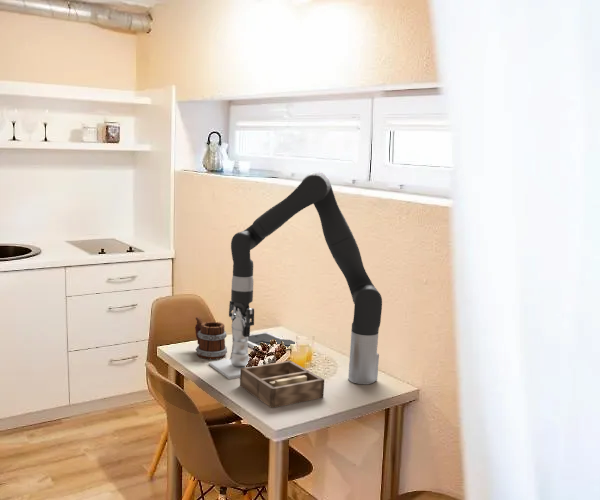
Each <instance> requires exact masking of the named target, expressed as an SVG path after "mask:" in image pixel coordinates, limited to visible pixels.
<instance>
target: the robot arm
mask: <svg viewBox="0 0 600 500" xmlns="http://www.w3.org/2000/svg"><path fill="white" fill-rule="evenodd" d="M332 187H333V186H332V183H331V181H330V178H329V177H328V176H327V175H326V174H325V173H323V172H321V171H312V172H311V173H309V174H307V175H305V177H304V178H303V179H302V181H301V182H300V183H299V184H298V185H297V187H295V189H294V190H293V191H292V192H291V193H290V194H289V195H288V196H286V197H285V198H284V199H283V200H280V202H278V203H277V204H275V205H273V206H272V207H270V208H269V209H267V210H266V211H264V213H263V214H261V215H260V216H258V217H257V218H256V219H255V220H254V221H253V222H252V224H251V225H249V226H248V227H247V228H246V229H244V230H242V231H239V232H236V233H235V234H233V237H232V238H231V242H230V251H231V259H232V262H233V263H232V264H233V265H232V279H231V292H230V293H231V294H230V301H229V305H228V306H229V307H228V308H229V309H228V317H229V318H231V321H232V322H233V321H234V319H235V318H236V310H237V311H238V313H239V315H240V319H241V321H243V325H244V328H243V336H244V337H249V336H250V334H251V327H253V326H255V308H250V304H251V303H253V302H254V301H253V299H254V261H253V260H252V259H251V250H253V249H254V248H256V247H257V246H258V245H259V244H260V243H261V242H263V241H264V240H265V239H266V238H267V237H269V236H270V235H271V234H273V233H274V232H275V231H277V230H278V229H280V228H281V227H282V226H284V224H286V223H287V222H288V221H289V220H290V219H291V218H293V217H294V216H295V215H296V214H298V213H300V212H301V211H302V210H304V209H306V208H308V207H309V206H312V205H313V206H314V208H315V210H316V212H317V214H318V216H319V219H320V225H321V230H322V233H323V237H324V240H325V243H326V245H327V247H328V249H329V252H330V253H331V257H332V258H333V260H334V262H335V263H336V265H337V266H338V268H339V269H340V271H341V273H342V274H343V276H344V278H345V281H346V282H347V286H348V289H349V292H350V295H351V299H352V302H353V304H354V308H353V319H352V320H353V321H352V323H351V334H350V346H349V347H350V348H349V363H348V364H349V365H348V381H349V382H350V383H354V384H359V385H370V384H373V383H375V382H376V381H378V373H379V361H380V360H379V359H380V355H379V353H378V343H379V342H378V341H379V331H380V326H381V322H382V321H381V320H382V309H383V298H382V295H381V293H380V292H379V291H378V289H377V288H376V286H374V284H373V282H372V280H371V279H370V277H369V275H368V273H367V270H366V269H365V266H364V263H363V260H362V255H361V252H360V248H359V246H358V244H357V241H356V239H355V235H354V234H353V232H352V230H351V229H350V226H349V224H348V222H347V220H346V218H345V216H344V214H343V213H342V211H341V209H340V207H339V205H338V203H337V199H336V197H335V194H334V190H333V188H332ZM245 320H246V321H245ZM232 322H231V323H232Z"/></svg>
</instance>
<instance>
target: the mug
mask: <svg viewBox="0 0 600 500" xmlns="http://www.w3.org/2000/svg"><path fill="white" fill-rule="evenodd" d="M195 320H196V324H195V327H194V329H195V330H194V331H195V337H196V340H197V345H198V346H197V347H196V348H195V351H196V353H197V356H198V358H201V359H205V360H210V361H211V360H212V361H213V360H220V359H223V358H225V357H226V356H227V353H228V346H226V338H227V332H226V331H225V324H224V323H222V322H220V321H217V322H216V321H206V322H204V321H203V319H202V318H201V317H200V316H198V317H195Z"/></svg>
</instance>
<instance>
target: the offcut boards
mask: <svg viewBox="0 0 600 500" xmlns="http://www.w3.org/2000/svg"><path fill="white" fill-rule="evenodd" d="M305 381H307V376H305V375H302V376H296V377H290V378H285V379H279V380H275V381H272V382H269V384H270V385H271V386H273V387H278V386H283V385H289V384H294V383H300V382H305Z"/></svg>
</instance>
